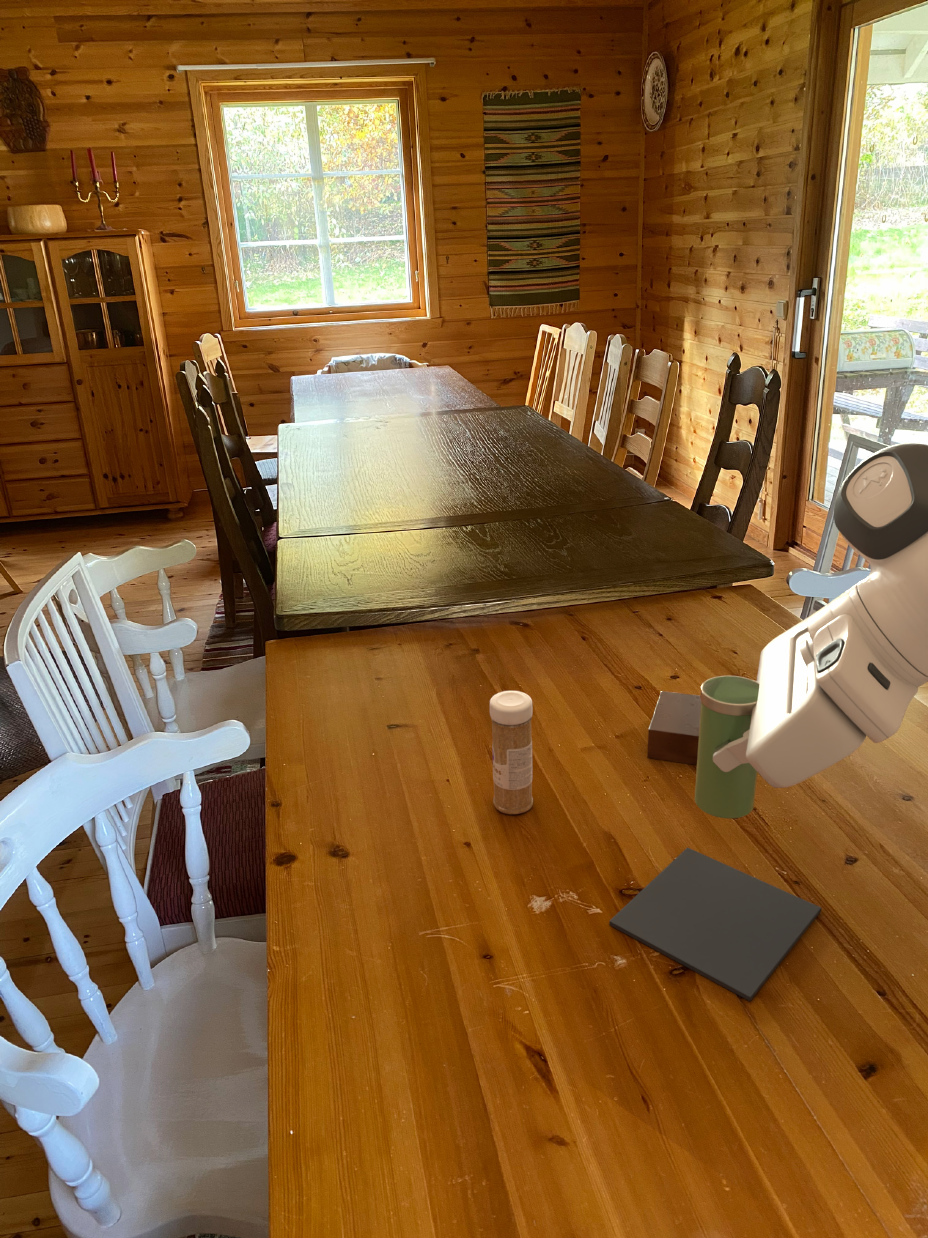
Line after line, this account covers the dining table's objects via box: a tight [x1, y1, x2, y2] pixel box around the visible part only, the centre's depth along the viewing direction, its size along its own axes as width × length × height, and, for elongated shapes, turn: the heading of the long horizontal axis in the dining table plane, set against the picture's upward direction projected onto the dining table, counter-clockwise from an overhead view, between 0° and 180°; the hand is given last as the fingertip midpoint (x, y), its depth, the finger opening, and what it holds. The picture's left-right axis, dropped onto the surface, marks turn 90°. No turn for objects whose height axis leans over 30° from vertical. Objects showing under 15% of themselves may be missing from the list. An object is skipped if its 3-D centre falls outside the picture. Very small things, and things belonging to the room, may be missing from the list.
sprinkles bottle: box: [489, 690, 534, 815], centre depth 100 cm, size 5×5×13 cm
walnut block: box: [646, 690, 701, 766], centre depth 112 cm, size 10×10×4 cm
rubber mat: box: [608, 847, 822, 1002], centre depth 85 cm, size 14×14×1 cm
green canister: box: [694, 675, 760, 820], centre depth 77 cm, size 5×5×11 cm
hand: (722, 742), depth 77 cm, fingers closed on green canister, 5 cm apart
